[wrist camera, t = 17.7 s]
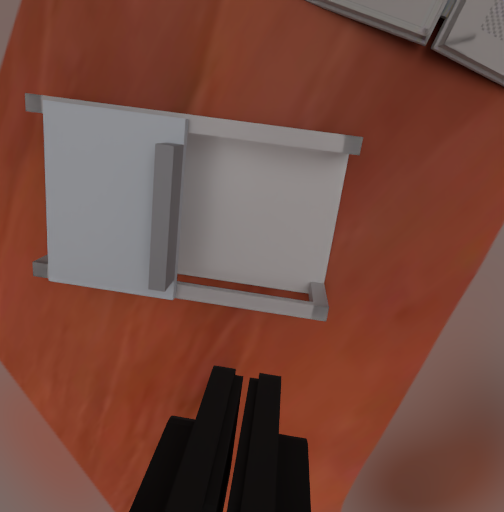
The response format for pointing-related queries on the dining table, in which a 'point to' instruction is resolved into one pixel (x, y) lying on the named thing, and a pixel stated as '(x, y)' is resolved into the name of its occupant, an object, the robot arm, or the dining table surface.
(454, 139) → the dining table surface
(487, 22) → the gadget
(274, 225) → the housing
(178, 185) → the lid
